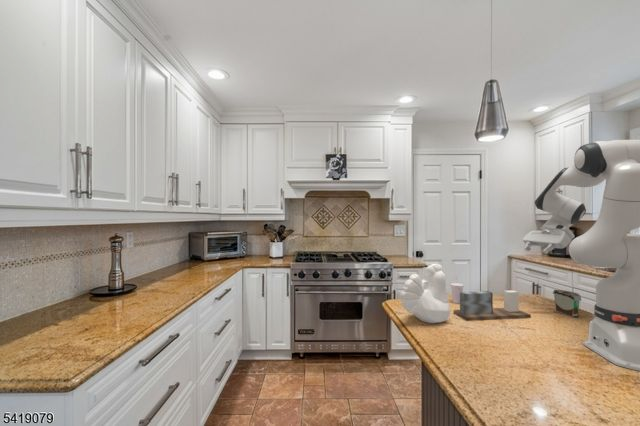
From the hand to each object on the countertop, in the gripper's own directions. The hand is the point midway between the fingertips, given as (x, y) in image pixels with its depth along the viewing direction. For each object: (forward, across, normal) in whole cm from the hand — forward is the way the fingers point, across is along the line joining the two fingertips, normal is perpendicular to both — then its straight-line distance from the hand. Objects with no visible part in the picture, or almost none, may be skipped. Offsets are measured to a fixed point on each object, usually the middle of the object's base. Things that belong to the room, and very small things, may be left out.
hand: (534, 251), depth 133 cm
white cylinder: (+28, 0, +11) cm, 30 cm away
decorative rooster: (+62, +2, -20) cm, 65 cm away
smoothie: (+40, -20, +2) cm, 45 cm away
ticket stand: (+37, 0, +4) cm, 38 cm away
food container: (+10, +3, +32) cm, 33 cm away
